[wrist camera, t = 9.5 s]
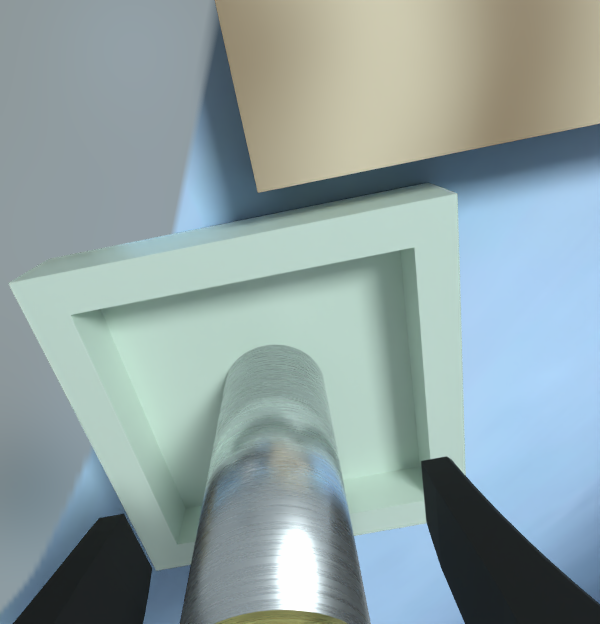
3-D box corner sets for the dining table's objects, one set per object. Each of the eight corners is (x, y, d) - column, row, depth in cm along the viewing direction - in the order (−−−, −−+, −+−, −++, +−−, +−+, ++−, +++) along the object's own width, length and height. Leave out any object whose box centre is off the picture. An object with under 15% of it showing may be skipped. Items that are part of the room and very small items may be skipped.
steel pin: (318, 337, 14) (380, 639, 6) (329, 420, 15) (390, 753, 7) (215, 352, 14) (134, 673, 6) (235, 433, 15) (192, 781, 7)
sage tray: (429, 182, 13) (457, 193, 11) (444, 471, 18) (466, 515, 16) (49, 258, 13) (8, 283, 11) (169, 520, 18) (156, 570, 16)
